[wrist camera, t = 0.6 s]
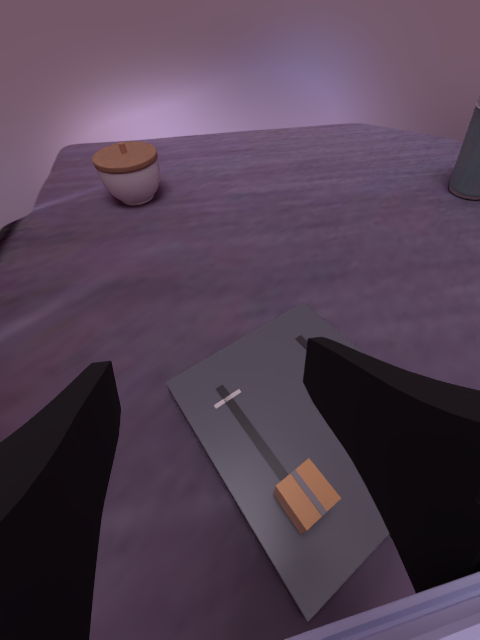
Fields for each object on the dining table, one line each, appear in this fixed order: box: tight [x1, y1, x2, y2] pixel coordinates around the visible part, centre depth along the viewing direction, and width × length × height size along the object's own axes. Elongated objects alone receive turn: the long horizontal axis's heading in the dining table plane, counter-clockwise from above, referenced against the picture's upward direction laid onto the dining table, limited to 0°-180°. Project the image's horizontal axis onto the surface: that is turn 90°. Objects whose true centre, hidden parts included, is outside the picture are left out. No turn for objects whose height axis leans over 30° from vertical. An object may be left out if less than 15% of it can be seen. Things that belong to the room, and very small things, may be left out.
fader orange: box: [273, 458, 341, 534], centre depth 21 cm, size 3×3×3 cm
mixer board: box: [165, 302, 389, 622], centre depth 27 cm, size 20×18×2 cm
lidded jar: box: [92, 142, 160, 205], centre depth 53 cm, size 11×11×9 cm
